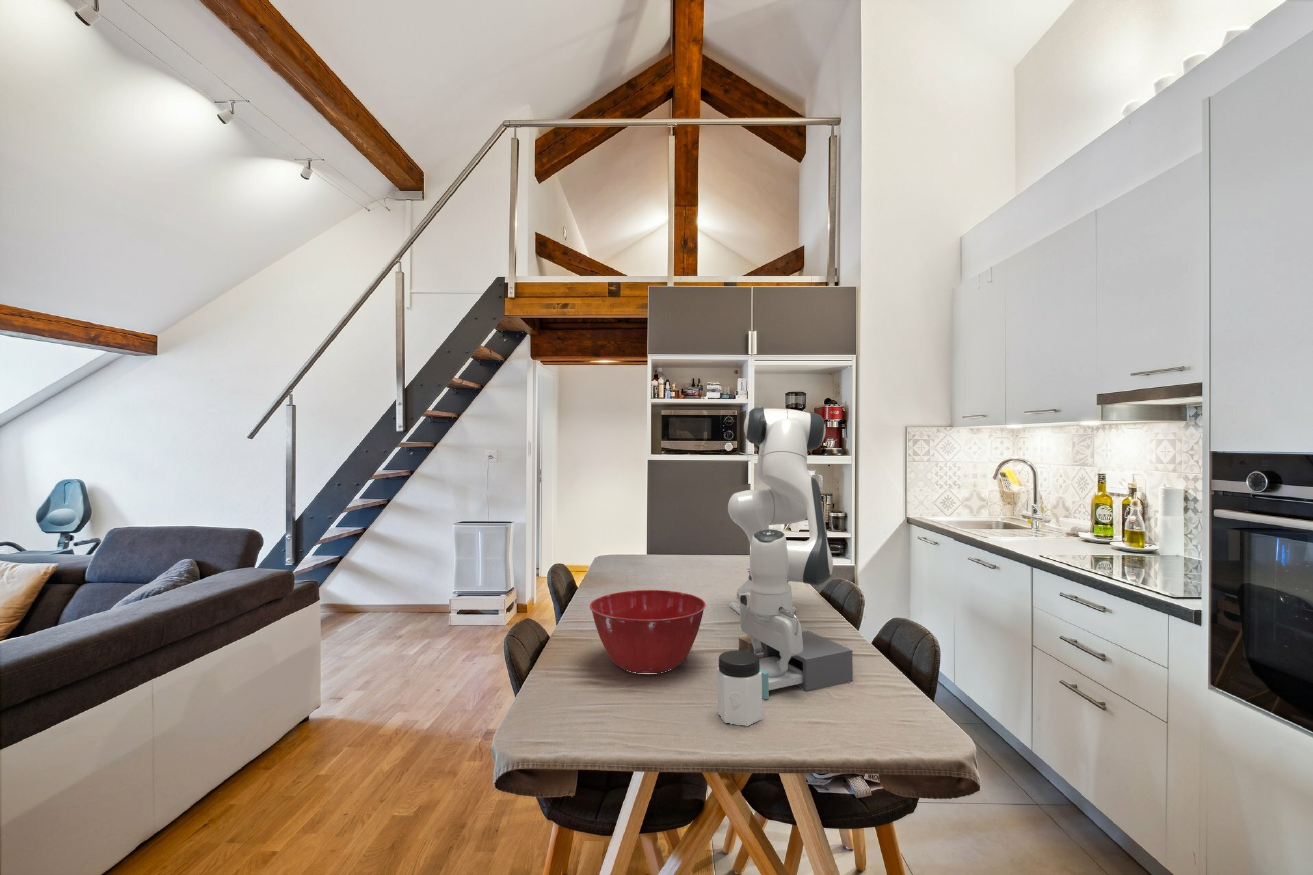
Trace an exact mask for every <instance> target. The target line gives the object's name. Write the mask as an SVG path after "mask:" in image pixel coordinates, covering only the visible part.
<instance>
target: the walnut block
mask: <svg viewBox="0 0 1313 875" xmlns="http://www.w3.org/2000/svg"><path fill="white" fill-rule="evenodd" d="M760 642H761V641H760ZM761 646H762V648H763V649H764V643H763V642H761ZM738 650H740V651H748V652H752V653H754V648H753V645H752V642H751V636H750V635H745V636H740V637H738ZM763 653H764V655H763V657H759V659H761V658H765V651H764V652H763Z"/></svg>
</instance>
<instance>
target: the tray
mask: <svg viewBox="0 0 1313 875" xmlns="http://www.w3.org/2000/svg"><path fill="white" fill-rule="evenodd" d="M763 659H775V660H779V661H780V658H778V657H776V656H771V657H766V658H761V659H759V660H763ZM760 672H761V673H762V700H763V699H764V700H767V699H769V698H770V696H769V695H770V693H769V691H772V690H777V689H781V688H786V687H789V686H796V684H800V683H803V671H802V670H800V669H798V668H796V667H794V666H792V665H791V664H789V663H788V670H787V671H786V673H785V675H784V676H782V677H777V678H768V673H767V672H765V671H764V670H762V669H760Z"/></svg>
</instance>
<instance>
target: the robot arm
mask: <svg viewBox="0 0 1313 875" xmlns="http://www.w3.org/2000/svg"><path fill="white" fill-rule="evenodd" d="M743 431H744V434H745V439H746V440H747V441H748V443H750V444H753V445H756V446H759V448H758V455H757V463H756V469H755V471H756V472H755V473H756V475H757V477H758V479H759V480H760V481H761V482H762V483H764V484H765V485H766V486H769V488H768V489H749V490H748V489H747V490H742V491H738V492H734V493H733V494H732V495H731V496H730V498H729V501H728V504H727V512H728V516H729V517H730V519H731V521H732V522H734V524H736V525H737V526H739V528H741V530H743V532H744V533H745V535H746V537H747V539H748V541H749V545H750V552H749V568H747V570H748V571H747V573H749V574H748V578H747V579H748V580H746V581H745V582H744V583H743V584H742V585H740V586H739V587H738V589H737V591H736V600H733V601H732V602H729V607H730V608H731V609H732V610H733V611H735V612H736V613H738V614H739V626H740V629H741V632H743V633H744V634H746V635H747V636H751V642H752V645H753V648H754V654H756V655H758V657H763V655H764V653H763V652H764V649H763V648H762V646H761V642H763V643H765V644H767V645H768V646H770V647H772V648H774V649H776V650H778V651H780V656H781V659H780V661H778V662H777V665H778V666H777V667H778V669H779V670H781V671H787V670H788V662H789V660H790V658H791V656H796V655H800V654H801V653H802V651H803V639H802V631H803V630H802V627H801V622H800V620H799V619H798V617H797V616H796V614H795V612H796V610H797V607H795V606H794V599H793V591H792V590H793V589H792V586H791V584H790V583H789V582H792V583H794V582H796V583H803V584H808V585H814V586H820V585H822V584H824V583H825V582H826V581H828V580H829V579H830V578H831V577H832V573H833V569H834V562H833V560H834V559H833V555H832V552H831V549H830V546H829V539H828V533H827V525H826V518H825V511H824V505H823V504H824V503H823V497H822V492H821V488H820V485H819V482H818V480H817V479H816V478H814V477H812V476H811V474H810V472H809V470H808V451H813V450H814V451H815V450H817V449H818V448H819V447H821V446H822V443H823V442H824V440H825V438H826V434H827V433H826V423H825V420H824V418H823V417H822V415H820V414H818V413H816V412H815V413H814V412H812V411H810V412H807V411H802V410H798V409H791V408H764V407H755V408H752V409H750V411H748V414H747V415H746V417H745V419H744V423H743ZM806 519H807V522H808V532H809V538H808V539H807V540H804V541H803V540H787V537H786V534H785V533H784V532H783V531H781V530H778V529H770V525H774V526H775V525H792V524H797V523H800V522H803V521H805V520H806ZM760 641H761V642H760Z"/></svg>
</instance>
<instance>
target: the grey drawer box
mask: <svg viewBox="0 0 1313 875" xmlns="http://www.w3.org/2000/svg"><path fill="white" fill-rule="evenodd" d="M801 631H802V639H803V651H802V653H801V654H800V655H796V656H791V658H790V660H789V662H788V663H789V664H791V665H792V666H794V667H796V668H798V669H800V670H802V671H803V683H800V684H796V685H795V686H797V688H800V689H801V690H804V691H805V692H809V691H815V690H819V689H823V688H827V687H832V686H833V687H834V686H836V685H837V686H838V685H841V684H845V683H846V684H847V683H850V682H853V676H854V675H853V670H854V669H853V649H850V648H848V647H846V646H843V645H841V644H839V643H837V642H835V641H832V640H830V639H828V638H826V637H823V636H822V635H818V634H816V633H814V632H812V631H810V630H804V631H803V630H801ZM764 651H765V658H766V657H771V656H776V657H778V658H780V659H781V656H780V651H778V650H776V649H774V648H772V647H770V646H768V645H767V644H765V643H764Z"/></svg>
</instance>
